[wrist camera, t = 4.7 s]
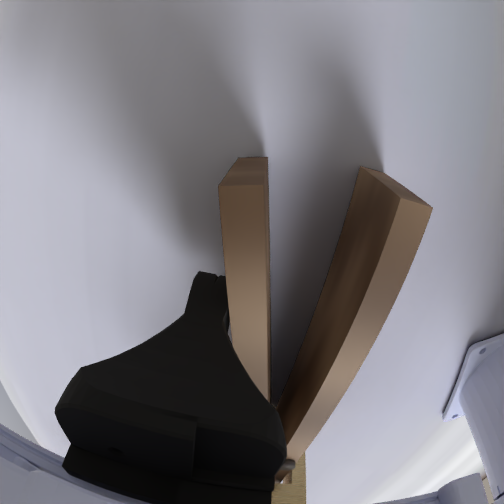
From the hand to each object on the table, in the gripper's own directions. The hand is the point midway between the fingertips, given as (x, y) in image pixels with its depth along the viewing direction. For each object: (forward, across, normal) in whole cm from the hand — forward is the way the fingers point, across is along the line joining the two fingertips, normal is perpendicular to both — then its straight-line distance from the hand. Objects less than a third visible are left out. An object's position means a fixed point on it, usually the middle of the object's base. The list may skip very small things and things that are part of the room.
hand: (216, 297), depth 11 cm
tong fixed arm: (+2, -5, +4) cm, 6 cm away
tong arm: (+1, -2, +2) cm, 3 cm away
